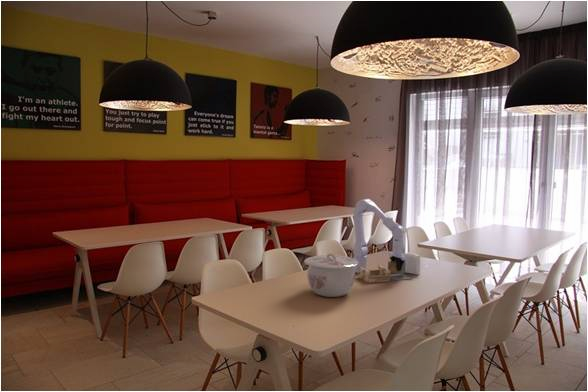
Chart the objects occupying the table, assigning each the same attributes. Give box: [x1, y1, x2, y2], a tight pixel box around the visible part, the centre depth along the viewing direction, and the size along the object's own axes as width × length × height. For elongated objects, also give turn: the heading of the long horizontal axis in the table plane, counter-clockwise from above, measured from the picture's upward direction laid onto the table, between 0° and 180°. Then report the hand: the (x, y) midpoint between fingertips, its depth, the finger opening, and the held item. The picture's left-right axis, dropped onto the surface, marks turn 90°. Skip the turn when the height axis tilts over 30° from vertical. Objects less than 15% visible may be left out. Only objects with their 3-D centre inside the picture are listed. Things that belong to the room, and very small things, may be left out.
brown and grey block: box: [387, 260, 406, 275], centre depth 267 cm, size 4×9×7 cm, turn 108°
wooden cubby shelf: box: [358, 265, 391, 284], centre depth 262 cm, size 13×13×6 cm
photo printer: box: [404, 252, 421, 276], centre depth 276 cm, size 10×4×12 cm, turn 39°
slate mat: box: [390, 274, 412, 281], centre depth 268 cm, size 14×11×1 cm
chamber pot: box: [303, 252, 358, 298], centre depth 234 cm, size 28×28×21 cm
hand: (396, 269), depth 267 cm, fingers closed on brown and grey block, 4 cm apart
